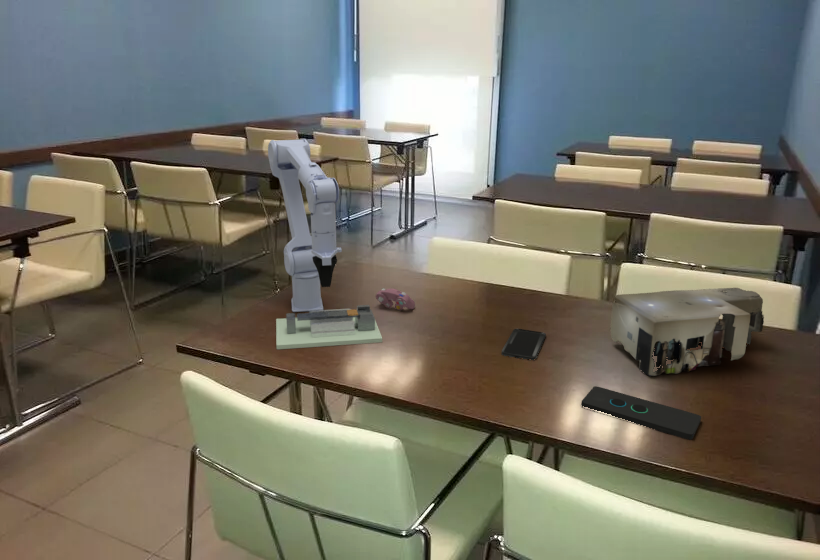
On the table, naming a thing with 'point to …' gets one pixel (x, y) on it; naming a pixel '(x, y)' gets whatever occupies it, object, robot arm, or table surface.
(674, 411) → the smart home device
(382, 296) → the pink plastic car shape
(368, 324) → the hinge and catch
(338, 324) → the heat sink
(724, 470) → the table surface
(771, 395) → the table surface
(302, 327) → the pale green board
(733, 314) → the grey boxy piece
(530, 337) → the phone
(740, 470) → the table surface
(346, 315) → the bar
